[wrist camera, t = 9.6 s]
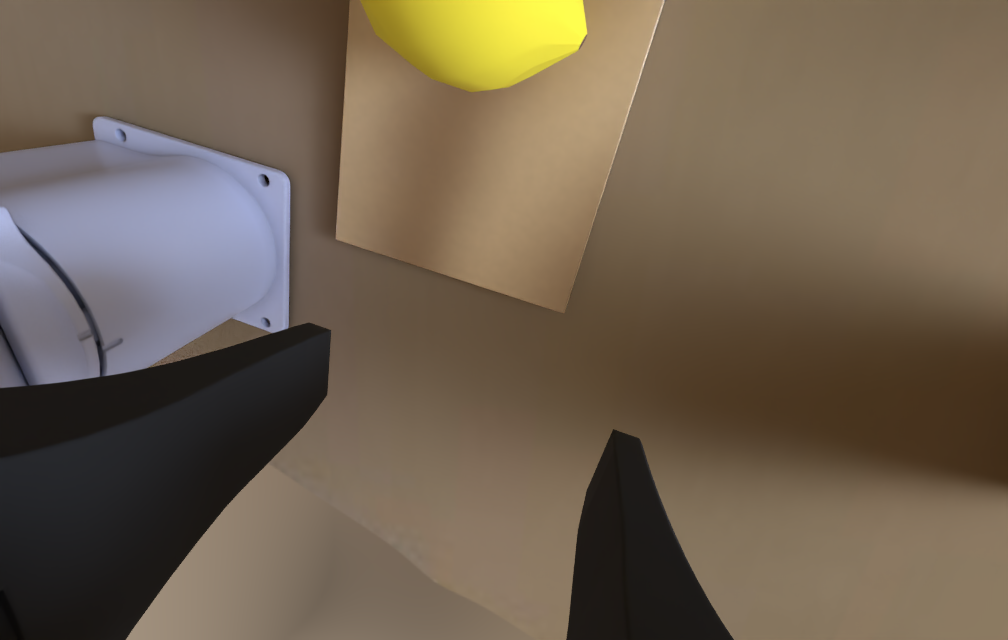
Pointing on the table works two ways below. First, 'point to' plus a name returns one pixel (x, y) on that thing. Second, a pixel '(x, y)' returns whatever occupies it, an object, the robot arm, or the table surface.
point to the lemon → (479, 37)
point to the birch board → (488, 157)
